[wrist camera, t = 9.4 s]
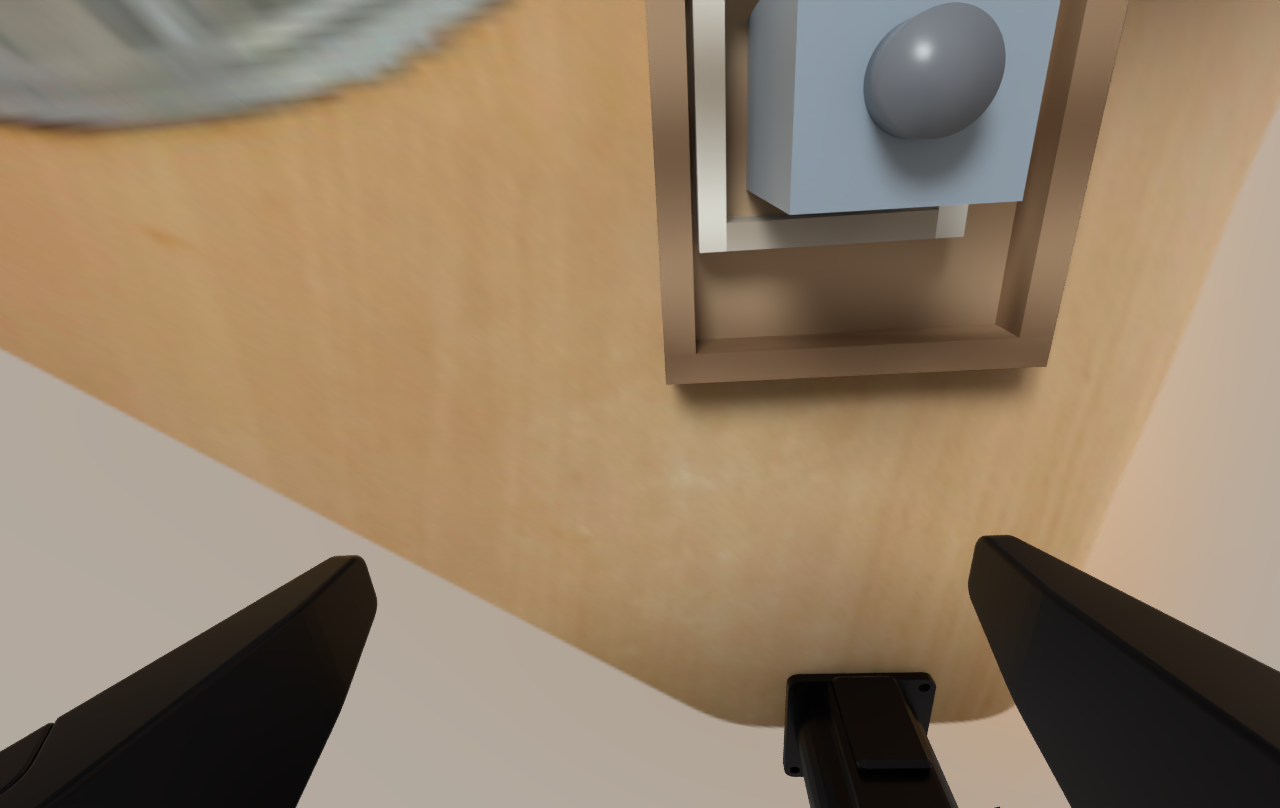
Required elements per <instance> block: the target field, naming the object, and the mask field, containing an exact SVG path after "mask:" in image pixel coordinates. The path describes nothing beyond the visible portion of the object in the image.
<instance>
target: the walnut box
mask: <svg viewBox="0 0 1280 808" xmlns="http://www.w3.org/2000/svg"><path fill="white" fill-rule="evenodd" d="M1128 1H1129V0H1060V6H1059V11H1058V16H1057V21H1056V27H1055V32H1054V37H1053V42H1052V48H1051V53H1050V58H1049V63H1048V69H1047V74H1046V79H1045V85H1044V90H1043V95H1042V100H1041V106H1040V111H1039V116H1038V121H1037V127H1036V132H1035V137H1034V142H1033V148H1032V153H1031V158H1030V163H1029V169H1028V174H1027V179H1026V184H1025V190H1024V195H1023V200H1022V201H1014V202H998V203H981V204H964V205H947V206H931V207H914V208H897V209H881V210H864V211H847V212H831V213H814V214H797V215H789V214H787V213H786V212H784V211H782V210H780V209H779V208H777V207H775V206H774V205H772V204H770V203H769V202H767V201H765V200H763V199H762V198H760V197H758V196H757V195H755V194H753V193H751V192H750V191H748V190H746V154H747V53H748V17H749V16H750V14H751V13H752V11H753V10H754V8H755V6H756V5H757V3H758V2H759V0H646V18H647V37H648V55H649V74H650V93H651V111H652V130H653V148H654V167H655V186H656V204H657V223H658V241H659V260H660V278H661V297H662V316H663V334H664V353H665V371H666V385H671V384H692V383H713V382H734V381H754V380H775V379H796V378H817V377H838V376H859V375H880V374H900V373H921V372H942V371H963V370H984V369H1005V368H1026V367H1046V366H1047V362H1048V357H1049V353H1050V348H1051V344H1052V339H1053V335H1054V330H1055V326H1056V321H1057V317H1058V313H1059V308H1060V304H1061V299H1062V295H1063V290H1064V286H1065V281H1066V277H1067V273H1068V268H1069V264H1070V259H1071V255H1072V250H1073V246H1074V241H1075V237H1076V232H1077V228H1078V224H1079V219H1080V215H1081V210H1082V206H1083V201H1084V197H1085V192H1086V188H1087V184H1088V179H1089V175H1090V170H1091V166H1092V161H1093V157H1094V152H1095V148H1096V143H1097V139H1098V135H1099V130H1100V126H1101V121H1102V117H1103V112H1104V108H1105V103H1106V99H1107V95H1108V90H1109V86H1110V81H1111V77H1112V72H1113V68H1114V63H1115V59H1116V54H1117V50H1118V46H1119V41H1120V37H1121V32H1122V28H1123V23H1124V19H1125V14H1126V10H1127V6H1128Z"/></svg>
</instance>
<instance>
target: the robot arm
mask: <svg viewBox="0 0 1280 808" xmlns="http://www.w3.org/2000/svg"><path fill="white" fill-rule="evenodd" d="M968 590H969V595H970V599H971V601H972V604H973V606H974V609H975V611H976V613H977V616H978V618H979V621H980V623H981V625H982V628H983V630H984V632H985V635H986V637H987V640H988V642H989V644H990V647H991V649H992V652H993V654H994V656H995V659H996V661H997V663H998V666H999V668H1000V671H1001V673H1002V675H1003V678H1004V680H1005V683H1006V685H1007V687H1008V689H1009V691H1010V694H1011V696H1012V698H1013V700H1014V702H1015V704H1016V706H1017V708H1018V710H1019V712H1020V714H1021V716H1022V718H1023V720H1024V721H1025V723H1026V725H1027V727H1028V729H1029V731H1030V732H1031V734H1032V736H1033V738H1034V740H1035V742H1036V744H1037V745H1038V747H1039V749H1040V751H1041V753H1042V754H1043V756H1044V758H1045V760H1046V762H1047V763H1048V765H1049V767H1050V769H1051V771H1052V773H1053V775H1054V776H1055V778H1056V780H1057V782H1058V784H1059V785H1060V787H1061V789H1062V791H1063V793H1064V795H1065V797H1066V798H1067V800H1068V802H1069V804H1070V806H1071V808H1280V672H1279V671H1277V670H1275V669H1273V668H1271V667H1269V666H1267V665H1265V664H1263V663H1261V662H1259V661H1257V660H1255V659H1253V658H1252V657H1250V656H1247V655H1246V654H1244V653H1242V652H1240V651H1238V650H1236V649H1234V648H1232V647H1230V646H1228V645H1226V644H1224V643H1222V642H1220V641H1218V640H1216V639H1214V638H1212V637H1210V636H1208V635H1206V634H1204V633H1202V632H1201V631H1199V630H1197V629H1195V628H1193V627H1191V626H1188V625H1187V624H1185V623H1183V622H1181V621H1179V620H1177V619H1175V618H1173V617H1171V616H1169V615H1167V614H1165V613H1163V612H1161V611H1159V610H1157V609H1155V608H1153V607H1151V606H1150V605H1148V604H1146V603H1144V602H1142V601H1140V600H1138V599H1135V598H1134V597H1132V596H1130V595H1128V594H1126V593H1124V592H1122V591H1120V590H1118V589H1116V588H1114V587H1112V586H1110V585H1108V584H1106V583H1104V582H1102V581H1100V580H1098V579H1096V578H1095V577H1093V576H1091V575H1089V574H1087V573H1085V572H1083V571H1081V570H1079V569H1077V568H1075V567H1073V566H1071V565H1069V564H1067V563H1065V562H1063V561H1061V560H1059V559H1057V558H1055V557H1053V556H1051V555H1049V554H1048V553H1046V552H1044V551H1042V550H1040V549H1038V548H1036V547H1034V546H1032V545H1030V544H1028V543H1026V542H1024V541H1022V540H1020V539H1018V538H1016V537H1014V536H1011V535H989V536H982V537H980V538H979V539H978V540H977V542H976V545H975V549H974V554H973V559H972V564H971V569H970V574H969V579H968ZM376 610H377V597H376V593H375V590H374V587H373V584H372V581H371V578H370V575H369V572H368V568H367V566H366V563H365V561H364V559H363V558H362V557H360V556H357V555H349V556H334V557H331V558H329V559H327V560H326V561H324V562H322V563H320V564H319V565H317V566H315V567H314V568H312V569H310V570H309V571H307V572H305V573H303V574H302V575H300V576H298V577H297V578H295V579H293V580H292V581H290V582H288V583H286V584H285V585H283V586H281V587H279V588H278V589H276V590H274V591H273V592H271V593H269V594H268V595H266V596H264V597H262V598H261V599H259V600H257V601H256V602H254V603H252V604H251V605H249V606H247V607H246V608H244V609H242V610H240V611H239V612H237V613H235V614H234V615H232V616H230V617H229V618H227V619H225V620H224V621H222V622H220V623H218V624H217V625H215V626H213V627H212V628H210V629H208V630H206V631H205V632H203V633H201V634H200V635H198V636H196V637H195V638H193V639H191V640H189V641H188V642H186V643H185V644H183V645H181V646H179V647H178V648H176V649H174V650H172V651H171V652H169V653H167V654H166V655H164V656H162V657H161V658H159V659H157V660H155V661H154V662H152V663H150V664H149V665H147V666H145V667H144V668H142V669H140V670H138V671H137V672H135V673H133V674H132V675H130V676H128V677H127V678H125V679H123V680H121V681H120V682H118V683H117V684H115V685H113V686H111V687H110V688H108V689H106V690H104V691H103V692H101V693H99V694H98V695H96V696H94V697H93V698H91V699H89V700H88V701H86V702H84V703H83V704H81V705H79V706H77V707H76V708H74V709H72V710H71V711H69V712H67V713H65V714H64V715H62V716H60V717H59V718H57V720H56V721H55V723H48V724H46V725H45V726H43V727H41V728H40V729H38V730H36V731H34V732H33V733H31V734H29V735H28V736H26V737H24V738H23V739H21V740H19V741H18V742H16V743H14V744H13V745H11V746H9V747H7V748H6V749H4V750H2V751H0V808H296V806H297V804H298V802H299V799H300V797H301V795H302V793H303V791H304V789H305V787H306V785H307V782H308V780H309V778H310V776H311V774H312V772H313V770H314V768H315V765H316V763H317V761H318V759H319V757H320V755H321V753H322V751H323V749H324V746H325V744H326V742H327V740H328V738H329V736H330V734H331V732H332V729H333V727H334V725H335V723H336V720H337V718H338V716H339V714H340V711H341V709H342V706H343V704H344V701H345V698H346V696H347V693H348V691H349V688H350V685H351V682H352V679H353V676H354V674H355V671H356V668H357V665H358V662H359V660H360V657H361V654H362V651H363V648H364V646H365V643H366V640H367V637H368V634H369V631H370V628H371V626H372V623H373V620H374V617H375V614H376ZM935 690H936V684H935V682H934V680H933V678H932V677H931V675H930V674H928V673H924V672H911V673H850V674H797V675H793V676H791V677H789V678H788V680H787V686H786V708H785V731H784V752H783V753H784V754H783V765H784V770H785V773H786V774H787V775H789V776H792V777H804V780H805V784H806V789H807V794H808V799H809V803H810V808H958V806H957V803H956V801H955V799H954V797H953V794H952V792H951V790H950V788H949V785H948V783H947V781H946V778H945V776H944V774H943V772H942V770H941V767H940V765H939V763H938V760H937V758H936V756H935V754H934V751H933V749H932V747H931V744H930V742H929V740H928V738H927V732H928V727H929V722H930V716H931V711H932V706H933V700H934V695H935ZM996 808H1000V807H996Z"/></svg>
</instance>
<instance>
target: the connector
mask: <svg viewBox="0 0 1280 808" xmlns="http://www.w3.org/2000/svg"><path fill="white" fill-rule="evenodd" d="M1059 6H1060V0H759V2H758V3H757V5H756V6H755V8H754V10H753V11H752V13H751V14H750V16H749V17H748V53H747V154H746V190H748V191H750V192H751V193H753V194H755V195H757V196H758V197H760V198H762V199H763V200H765V201H767V202H769V203H770V204H772V205H774V206H775V207H777V208H779V209H780V210H782V211H784V212H786V213H787V214H789V215H797V214H814V213H831V212H847V211H864V210H881V209H897V208H914V207H931V206H947V205H964V204H981V203H998V202H1014V201H1022V200H1023V195H1024V190H1025V184H1026V179H1027V174H1028V169H1029V163H1030V158H1031V153H1032V148H1033V142H1034V137H1035V132H1036V127H1037V121H1038V116H1039V111H1040V106H1041V100H1042V95H1043V90H1044V85H1045V79H1046V74H1047V69H1048V63H1049V58H1050V53H1051V48H1052V42H1053V37H1054V32H1055V27H1056V21H1057V16H1058V11H1059Z"/></svg>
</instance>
